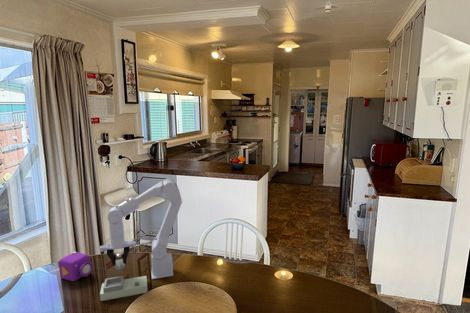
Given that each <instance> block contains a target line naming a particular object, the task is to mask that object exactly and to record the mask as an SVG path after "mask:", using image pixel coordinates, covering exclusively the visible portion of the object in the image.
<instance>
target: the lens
mask: <svg viewBox="0 0 470 313" xmlns="http://www.w3.org/2000/svg"><path fill="white" fill-rule="evenodd" d="M114 260H115V266H114V268H115V269H116V270H118V271H119V270H122V269H125V267H126V264H124V251H123V252H122V251H121V252H116V253H114Z"/></svg>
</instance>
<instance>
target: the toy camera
mask: <svg viewBox="0 0 470 313" xmlns="http://www.w3.org/2000/svg"><path fill="white" fill-rule="evenodd" d="M58 268H59V275H60V278H61V279H64V280H67V281H69V282H76V281H78V280H80V279H81V278H85V277H86V278H87V277H88V276H89V275H90V274H91V273H92V271H93V263H92V262H90V257H89V255H88V254H86V253H83V252H78V251H73V252H72V253H70V254H68V255H66V256H64V257H62V258H60V259H59V261H58Z"/></svg>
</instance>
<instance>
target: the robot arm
mask: <svg viewBox="0 0 470 313" xmlns="http://www.w3.org/2000/svg"><path fill="white" fill-rule="evenodd" d="M157 196H158V197H163V196H165V197H166V198H168V200H169V205H168V207H167V210H166V213H165V215H164V218H163V221H162V224H161V226H160V228H159V231H158V233H157V234H156V236H155V238H154V239H153V240H152V241H151V244H150V245H151V246H150V247H151V255H150V259H151V260H150V261H151V272H150V273H151V274H150V275H151V280H158V279H162V278H163V279H164V278H167V277H173V276H174V265H173V264H174V263H173V254H172V253H171V252H170V253H168V252H167V247H168V242H169V238H170V235H171V233H172V230H173V227H174V224H175V222H176V219H177V217H178V213H179V211H180V208H181V206H182V203H183V201H182V197H181V192H180V189H179V187H178V185H177V183H176V181H175V180H174V179H173V178H167V177H166V178H164V179H163V180H161V181H159V182H157V183H156V184H154V185H153V186H151V187H150V188H148V189H147V190H145V191H144V192H142V193H141V194H139V195H137V197H126V198H125V201H123V202H121V203H120V204H116V205H115V206H113V207H111V208H110V209H109V211H108V213H107V221H108V224H109V226H108V228H109V239H110V243H109V244H108V243H107V244H103V245H100V246H99V252H100V253H103V252H105V251H106V256H108V258H109V260H110V262H111V263H112V266H113V267H115V260H114V254H115V250H120V249H123V253H124V264H125V265H127V259H128V256H129V253H130V249H131V248H132V247H133V248H136V247H137V242H136V240H135V241H132V240H131V241H129V240H128V241H125V240H126V238H125V230H124V229H125V228H124V227H125V226H124V222H123V218H124V217H126V216H128V215H130V214H132V213H134V212H135V211H137V210H139V207H140V205H141V204H143V203H144V202H146V201H149V200H150V199H152V198H154V197H157Z"/></svg>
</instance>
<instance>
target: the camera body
mask: <svg viewBox="0 0 470 313" xmlns="http://www.w3.org/2000/svg"><path fill="white" fill-rule="evenodd" d="M124 277H125V276H124V275H119V276H114V277H108V278H105V279H104V282H102V284H101V288H100V292H99V300H100V302H102V301H103V302H104V301H109V300H114V299H120V298H125V297H130V296H136V295H141V294H147V293H148V278H147V277H148V276H147V275H143V276H142V275H141V276H137V277H131V278H124ZM146 292H147V293H146Z"/></svg>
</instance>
